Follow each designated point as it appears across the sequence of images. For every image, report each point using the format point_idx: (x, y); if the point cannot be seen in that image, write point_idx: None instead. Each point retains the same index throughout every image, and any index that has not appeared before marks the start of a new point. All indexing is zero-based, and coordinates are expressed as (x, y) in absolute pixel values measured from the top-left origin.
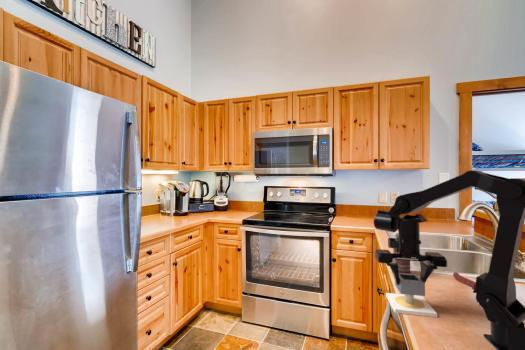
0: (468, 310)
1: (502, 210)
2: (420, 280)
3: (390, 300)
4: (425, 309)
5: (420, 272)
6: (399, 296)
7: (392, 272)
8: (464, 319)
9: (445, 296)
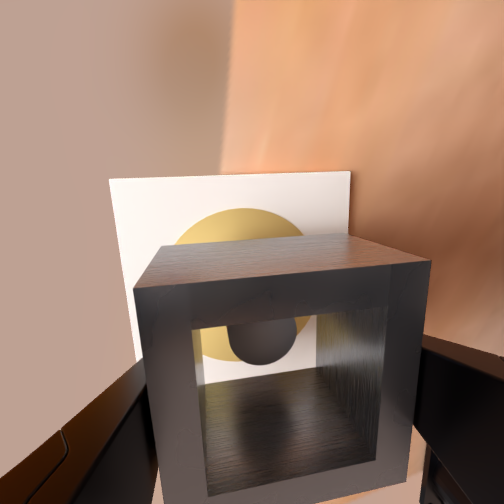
0: (497, 245)
1: None
2: (385, 452)
3: (130, 298)
4: (304, 346)
5: (488, 384)
6: (200, 224)
7: (59, 432)
8: (433, 336)
9: (485, 91)
